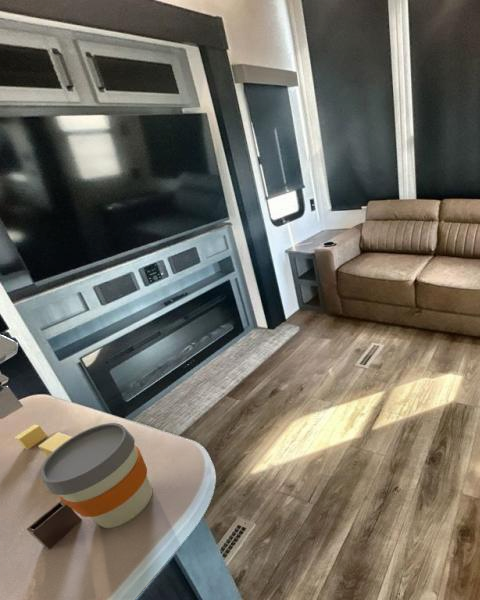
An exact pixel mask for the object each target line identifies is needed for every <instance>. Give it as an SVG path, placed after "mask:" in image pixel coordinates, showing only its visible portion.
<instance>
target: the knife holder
mask: <svg viewBox="0 0 480 600" xmlns="http://www.w3.org/2000/svg"><path fill="white" fill-rule="evenodd" d="M80 522H82V518H81V517H80V516H79V514H78V513H77V512H76V511H74V510H73V509H72V508H70V507H69V506H67V505H66V504H65V503H63V502H62V501H61V500H59V501H58V502H57V503H56V504H55V505H53V506H52V507H51V508H50V509H49V510H47V511H46V512H45V513H44V514H42V515H41V516H40V517H39V518H38V519H37V520H35V521H34V522H33V523H32V524H30V525H29V526H28V527H27V528H25V530H26V531H27V532H28V533H29V534H30V535H31V536H32V537H33V538H35V540H36V541H37V542H38V543H40V544H41V546H43V547H44V548H46V549H47V550H51V549H52V548H53V547H54V546H55V545H56V544H57V543H58V542H59V541H60V540H62V539H63V538H64V537H65V536H66V535H68V533H70V531H71V530H73V529H74V528H75V527H76V526H77V525H78V524H79V523H80Z"/></svg>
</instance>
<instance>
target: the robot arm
mask: <svg viewBox="0 0 480 600" xmlns="http://www.w3.org/2000/svg"><path fill="white" fill-rule="evenodd" d="M18 350H19V343H18V342H17V341H16V340H14V339H12V338H10V337H7V336H5V335H2V334H0V364H2V363H4V362H6V361H7V360H9V359H10V358H13V357H14V356H15V355H17V353H18ZM8 381H9V377H8V376H6V375H5V374H3V373H2V372H1V371H0V385H1V386H3V385H4V384H6V383H8Z"/></svg>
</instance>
